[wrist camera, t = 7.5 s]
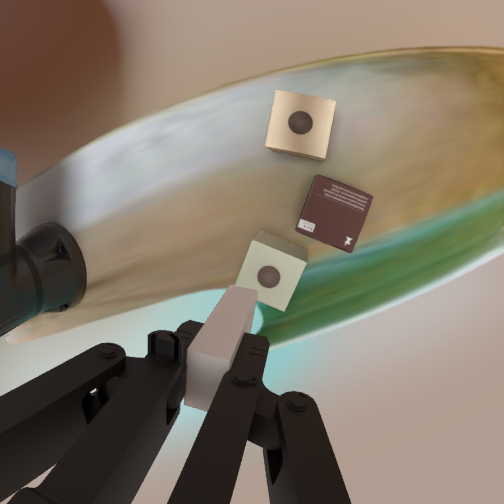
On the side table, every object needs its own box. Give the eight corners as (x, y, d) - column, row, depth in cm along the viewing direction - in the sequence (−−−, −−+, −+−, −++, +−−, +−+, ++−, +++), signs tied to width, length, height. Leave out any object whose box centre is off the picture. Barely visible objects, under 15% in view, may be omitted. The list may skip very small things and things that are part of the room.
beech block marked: (272, 150, 35) (264, 145, 29) (282, 103, 34) (275, 89, 28) (323, 161, 34) (325, 158, 29) (332, 113, 33) (335, 100, 27)
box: (364, 192, 34) (375, 197, 27) (345, 240, 36) (352, 255, 29) (315, 173, 35) (316, 172, 28) (297, 221, 37) (294, 231, 30)
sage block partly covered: (244, 273, 40) (232, 290, 34) (261, 229, 38) (252, 240, 32) (289, 292, 39) (285, 313, 33) (309, 249, 37) (308, 263, 31)
